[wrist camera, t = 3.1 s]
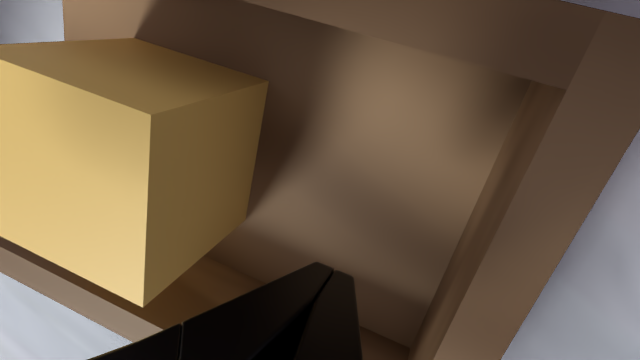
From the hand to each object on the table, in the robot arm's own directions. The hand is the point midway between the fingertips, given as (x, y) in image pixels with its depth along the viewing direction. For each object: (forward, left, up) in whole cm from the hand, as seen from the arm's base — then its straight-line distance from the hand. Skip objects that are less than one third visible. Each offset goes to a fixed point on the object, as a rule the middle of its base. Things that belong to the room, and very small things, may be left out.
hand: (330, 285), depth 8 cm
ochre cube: (0, +7, -4) cm, 8 cm away
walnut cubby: (0, +4, -6) cm, 7 cm away
